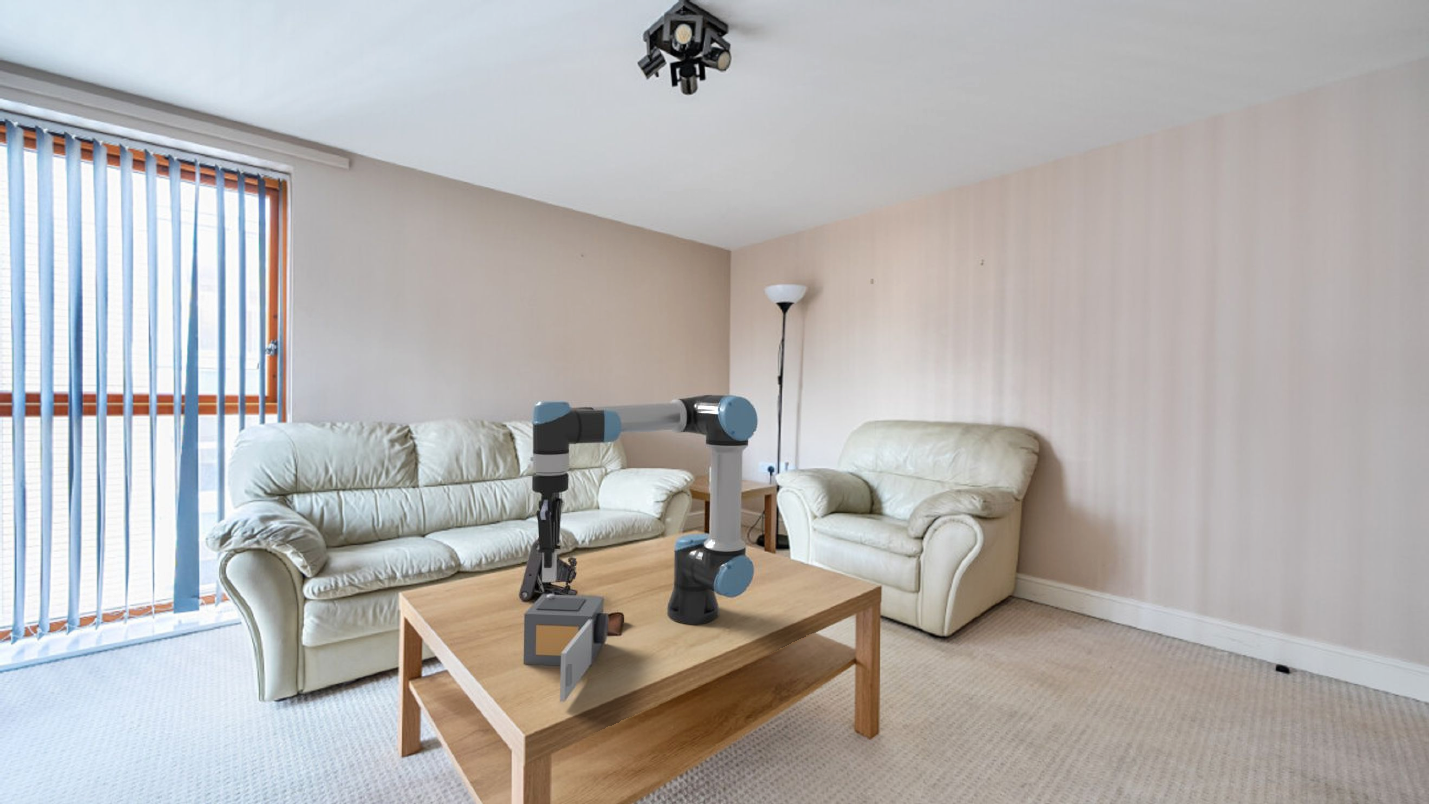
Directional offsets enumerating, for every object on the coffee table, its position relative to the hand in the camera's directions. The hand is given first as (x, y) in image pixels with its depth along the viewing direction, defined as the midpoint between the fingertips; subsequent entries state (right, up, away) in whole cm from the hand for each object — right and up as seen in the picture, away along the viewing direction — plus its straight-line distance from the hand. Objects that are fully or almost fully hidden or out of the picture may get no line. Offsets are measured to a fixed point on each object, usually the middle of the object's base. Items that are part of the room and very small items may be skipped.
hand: (549, 580), depth 115 cm
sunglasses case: (+2, -24, +30) cm, 38 cm away
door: (+6, -22, +2) cm, 23 cm away
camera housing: (0, -23, +16) cm, 28 cm away
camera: (-16, -23, +53) cm, 60 cm away
